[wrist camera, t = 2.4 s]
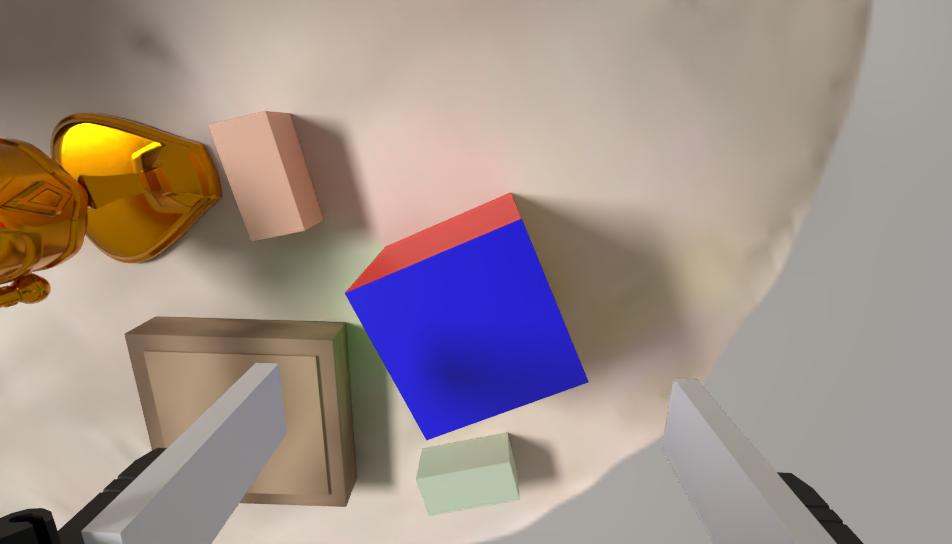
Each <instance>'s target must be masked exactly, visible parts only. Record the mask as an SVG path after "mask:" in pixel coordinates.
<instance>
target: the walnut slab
mask: <svg viewBox="0 0 952 544" xmlns="http://www.w3.org/2000/svg"><path fill="white" fill-rule="evenodd" d="M125 338H126V342H127V347H128V351H129V355H130V359H131V363H132V368H133V372H134V376H135V380H136V384H137V388H138V393H139V397H140V401H141V405H142V409H143V414H144V418H145V422H146V426H147V430H148V435H149V439H150V443H151V447H152V450H154V449H156V448H168V447H169V446H170V445H171V444H172V443H173V442H174V441H175V440H176V439H177V438H178V437H179V436H180V435H182V434H183V433H184V432H185V431H186V430H187V429H188V428H189V427H190V426H191V425H192V424H193V423H194V422H195V421H196V420H197V419H198V418H199V417H200V416H201V415H202V414H203V413H204V412H205V411H206V410H207V409H208V408H210V407H211V406H212V405H213V404H214V403H215V402H216V401H217V400H218V399H219V398H220V397H221V396H222V395H223V394H224V393H225V392H226V391H227V390H228V389H229V388H230V387H231V386H232V385H233V384H234V383H235V382H237V381H238V380H239V379H240V378H241V377H242V376H243V375H244V374H245V373H246V372H247V371H248V370H249V369H250V368H251V367H252V366H253V365H254V364H255V363H276V364H279V372H280V380H281V389H282V397H283V405H284V413H285V422H286V430H287V434H286V435H285V437H284V438H283V440H282V441H281V443H280V444H279V446H278V447H277V448H276V450H275V451H274V453H273V454H272V456H271V457H270V459H269V460H268V462H267V463H266V464H265V466H264V467H263V469H262V470H261V472H260V473H259V475H258V476H257V478H256V479H255V481H254V482H253V483H252V485H251V486H250V488H249V489H248V491H247V492H246V494H245V495H244V497H243V498H242V499H241V501H240V502H239V503H254V504H282V505H310V506H338V507H346V506H347V503H348V500H349V498H350V495H351V492H352V489H353V487H354V484H355V481H356V479H357V475H356V462H355V448H354V434H353V420H352V406H351V392H350V378H349V364H348V350H347V337H346V323H345V322H316V321H282V320H249V319H216V318H183V317H154V318H152V319H150V320H149V321H147V322H145V323H143V324H141V325H140V326H138V327H136V328H134V329H133V330H131V331H129V332H127V333H125Z"/></svg>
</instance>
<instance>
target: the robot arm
mask: <svg viewBox="0 0 952 544" xmlns="http://www.w3.org/2000/svg"><path fill="white" fill-rule="evenodd" d="M286 434H287V430H286V422H285V413H284V405H283V397H282V389H281V380H280V372H279V364H276V363H255V364H254V365H253V366H252V367H251V368H250V369H249V370H248V371H247V372H246V373H245V374H244V375H243V376H242V377H241V378H240V379H239V380H238V381H237V382H235V383H234V384H233V385H232V386H231V387H230V388H229V389H228V390H227V391H226V392H225V393H224V394H223V395H222V396H221V397H220V398H219V399H218V400H217V401H216V402H215V403H214V404H213V405H212V406H211V407H210V408H208V409H207V410H206V411H205V412H204V413H203V414H202V415H201V416H200V417H199V418H198V419H197V420H196V421H195V422H194V423H193V424H192V425H191V426H190V427H189V428H188V429H187V430H186V431H185V432H184V433H183V434H182V435H180V436H179V437H178V438H177V439H176V440H175V441H174V442H173V443H172V444H171V445H170V446H169V447H168V448H156V449H154V450H152V451H151V452H149V453H147V454H146V455H144V456H142V457H141V458H139V459H137V460H135V461H134V462H133V463H132V464H131V465H130V466H129V467H128V468H127V469H125V470H124V471H123V472H122V473H121V474H120V475H119V476H118V479H117V480H116V479H114V480H113V481H112V482H111V483H110V484H109V485H108V486H107V487H106V488H105V489H104V491H103V493H99V494H98V495H97V496H96V497H95V498H94V499H93V500H91V501H90V502H89V503H88V504H87V505H86V506H85V507H84V508H83V509H82V510H80V511H79V512H78V513H77V514H76V515H75V516H74V517H73V518H72V519H71V520H70V521H68V522H67V523H66V524H65V525H64V526H63V527H62V528H61V529H60V530H59V531H57V528H56V525H55V522H54V519H53V516H52V513H51V511H48V510H46V509H43V508H37V509H26V510H22V511H19V512H15V513H11V514H9V515H6V516H4V517H2V518H0V544H211V543H212V542H213V540H214V539H215V537H216V536H217V534H218V533H219V531H220V530H221V529H222V527H223V526H224V524H225V523H226V521H227V520H228V518H229V517H230V515H231V514H232V513H233V511H234V510H235V508H236V507H237V505H238V504H239V502H240V501H241V499H242V498H243V497H244V495H245V494H246V492H247V491H248V489H249V488H250V486H251V485H252V483H253V482H254V481H255V479H256V478H257V476H258V475H259V473H260V472H261V470H262V469H263V467H264V466H265V464H266V463H267V462H268V460H269V459H270V457H271V456H272V454H273V453H274V451H275V450H276V448H277V447H278V446H279V444H280V443H281V441H282V440H283V438H284V437H285V435H286ZM662 451H663V453H664V454H665V456H666V458H667V460H668V461H669V464H670V465H671V467H672V469H673V471H674V472H675V474H676V476H677V478H678V480H679V482H680V484H681V486H682V487H683V489H684V491H685V493H686V495H687V496H688V498H689V500H690V502H691V504H692V506H693V508H694V509H695V511H696V513H697V515H698V517H699V518H700V520H701V522H702V524H703V526H704V528H705V529H706V531H707V533H708V535H709V537H710V539H711V541H712V542H713V544H863V543H862V542H861V540H860V539H859V538H858V537H857V536H856V535H855V534H854V533H853V532H852V531H851V529H850V528H849V527H848V526H847V525H844V524H843V521H842V520H841V519H840V517H839V516H838V515H837V514H836V513H835V512H834V511H833V510H830V509H829V506H828V504H827V503H826V502H825V501H824V500H823V499H822V498H821V497H820V496H819V495H818V493H817V492H816V491H815V490H814V489H813V488H812V487H810V486H809V485H807V484H806V483H805V482H803V481H802V480H800V479H799V478H797V477H796V476H795V475H793V474H792V473H778V472H776V471H775V470H774V469H773V468H772V467H771V465H770V464H769V463H768V462H767V461H766V459H765V458H764V457H763V456H762V455H761V454H760V452H759V451H758V450H757V449H756V448H755V447H754V445H753V444H752V443H751V442H750V441H749V439H748V438H747V437H746V436H745V435H744V434H743V433H742V431H741V430H740V429H739V428H738V427H737V425H736V424H735V423H734V422H733V421H732V419H731V418H730V417H729V416H728V415H727V414H726V413H725V411H724V410H723V409H722V408H721V406H720V405H719V404H718V403H717V402H716V401H715V399H714V398H713V397H712V396H711V395H710V394H709V392H708V391H707V390H706V389H705V388H704V386H703V385H702V384H701V383H700V382H699V381H698V379H678V378H674V380H673V385H672V391H671V397H670V403H669V408H668V414H667V420H666V425H665V431H664V437H663V443H662Z"/></svg>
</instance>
